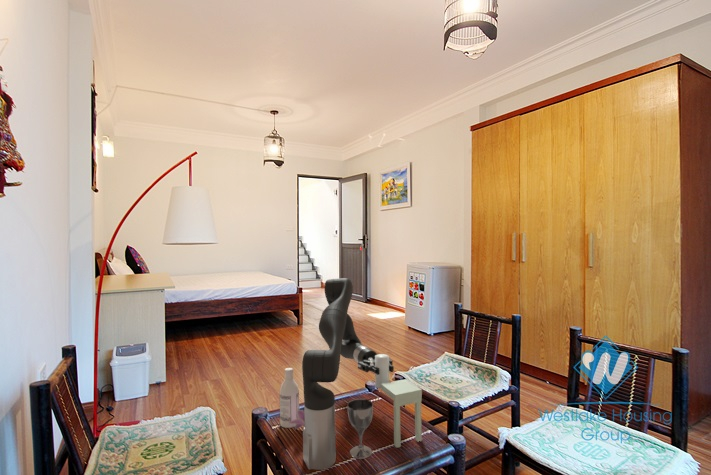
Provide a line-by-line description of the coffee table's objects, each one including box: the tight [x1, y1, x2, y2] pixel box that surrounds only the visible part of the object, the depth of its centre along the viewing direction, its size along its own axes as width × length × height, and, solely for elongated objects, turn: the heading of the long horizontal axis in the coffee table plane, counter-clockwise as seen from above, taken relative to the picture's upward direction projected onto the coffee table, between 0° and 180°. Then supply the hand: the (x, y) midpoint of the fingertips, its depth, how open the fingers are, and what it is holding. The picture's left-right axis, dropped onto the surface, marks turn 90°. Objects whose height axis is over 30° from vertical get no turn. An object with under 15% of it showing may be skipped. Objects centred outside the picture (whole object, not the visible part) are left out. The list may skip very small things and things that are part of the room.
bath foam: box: [279, 367, 300, 429], centre depth 132 cm, size 7×7×20 cm
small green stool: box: [380, 378, 423, 448], centre depth 122 cm, size 10×10×17 cm
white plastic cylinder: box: [374, 353, 390, 390], centre depth 135 cm, size 5×5×11 cm
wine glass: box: [347, 398, 374, 460], centre depth 114 cm, size 8×8×15 cm
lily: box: [289, 409, 305, 430], centre depth 125 cm, size 12×12×10 cm
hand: (385, 370), depth 132 cm, fingers closed on white plastic cylinder, 5 cm apart
